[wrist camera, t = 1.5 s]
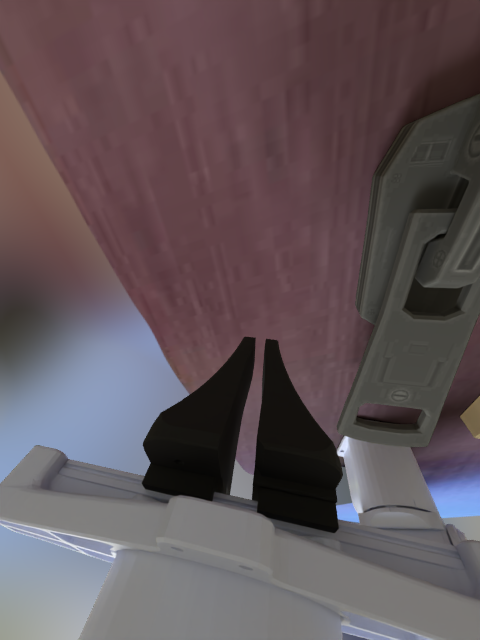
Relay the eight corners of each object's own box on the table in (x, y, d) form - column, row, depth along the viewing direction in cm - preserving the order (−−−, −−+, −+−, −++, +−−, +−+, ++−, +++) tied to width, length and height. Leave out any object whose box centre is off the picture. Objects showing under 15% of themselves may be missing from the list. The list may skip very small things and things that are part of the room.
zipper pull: (330, 438, 22) (456, 68, 8) (321, 385, 27) (388, 109, 13) (432, 454, 20) (816, 25, 6) (402, 394, 26) (573, 91, 12)
